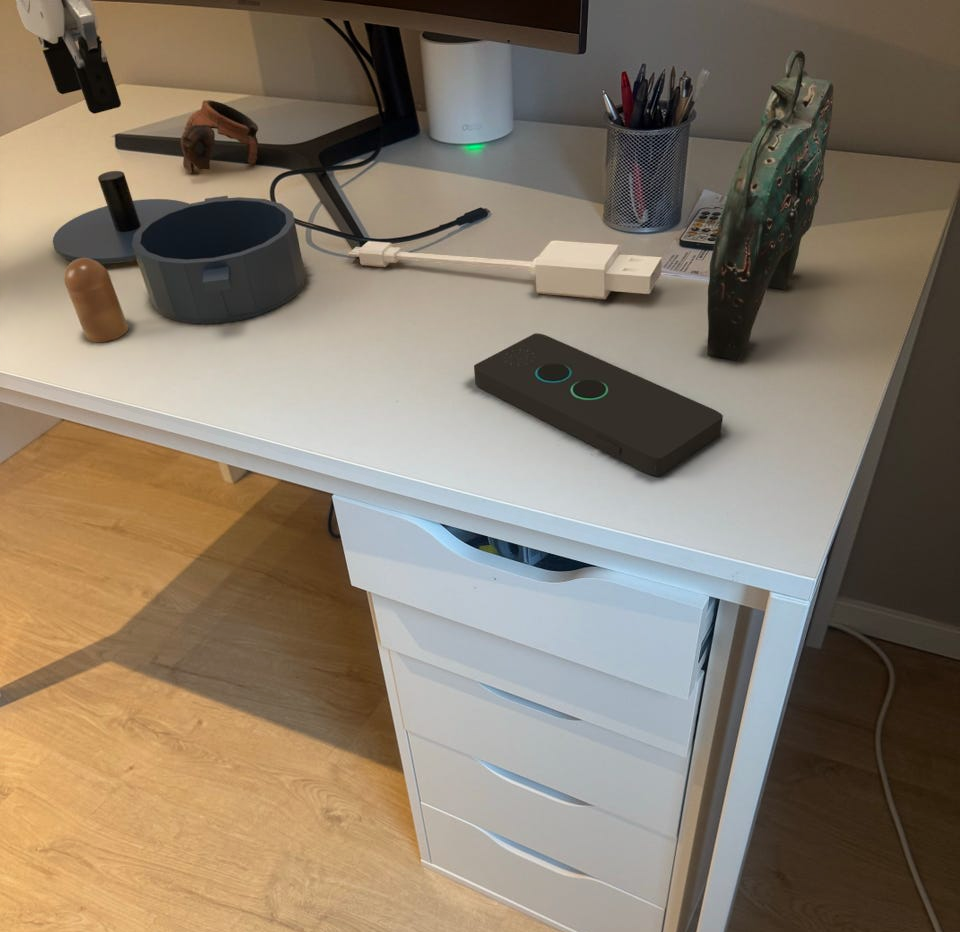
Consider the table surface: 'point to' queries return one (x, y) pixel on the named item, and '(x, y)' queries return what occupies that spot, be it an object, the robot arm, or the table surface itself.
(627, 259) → the charging cable
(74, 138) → the table surface
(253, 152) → the orange-brown curved ring piece
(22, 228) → the table surface
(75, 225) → the lid
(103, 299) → the brown domed cylinder
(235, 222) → the pot
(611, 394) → the smart home device
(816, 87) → the dark green sculpted piece
